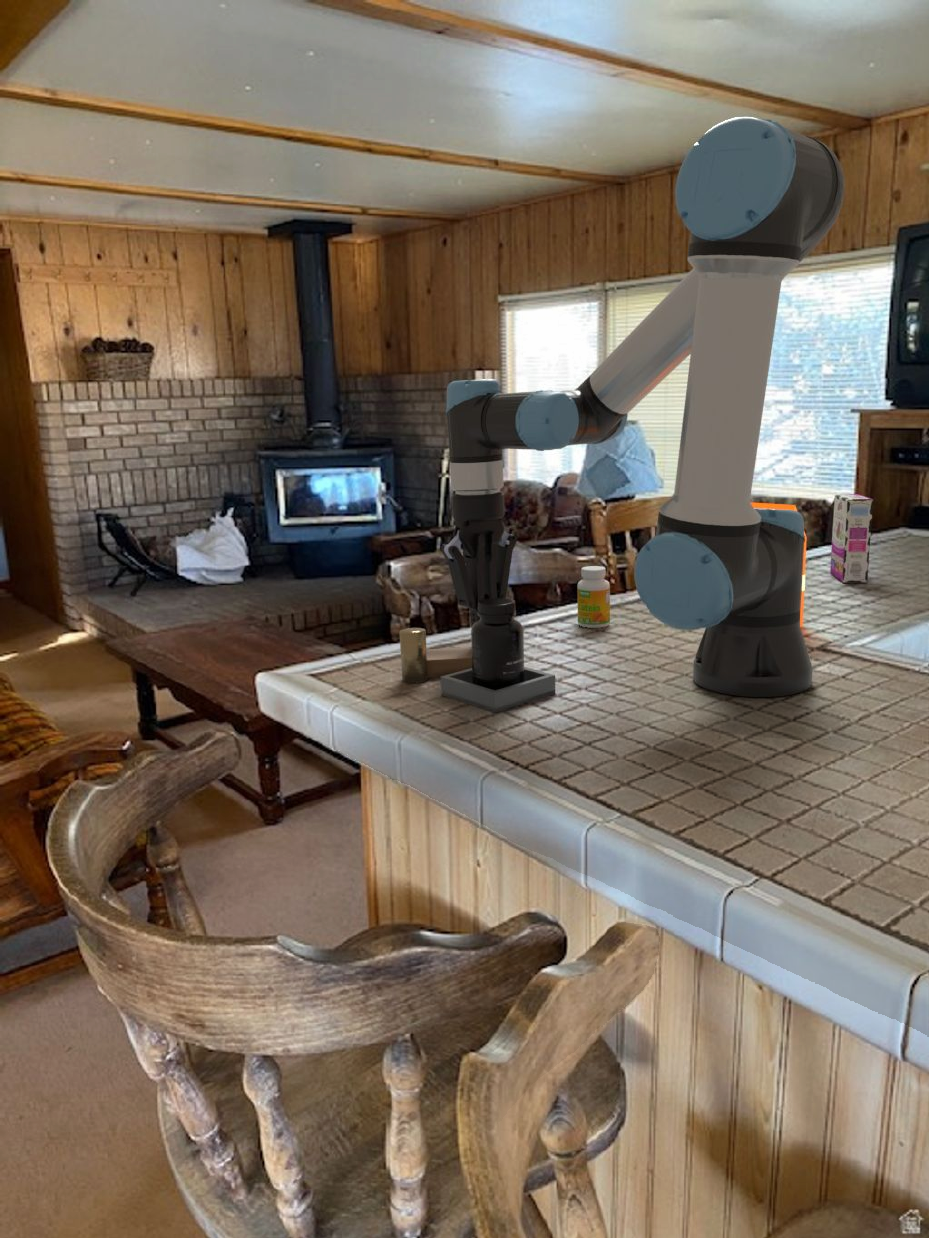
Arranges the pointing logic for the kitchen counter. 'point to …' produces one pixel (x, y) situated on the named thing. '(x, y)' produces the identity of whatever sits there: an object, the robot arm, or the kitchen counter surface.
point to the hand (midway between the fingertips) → (484, 650)
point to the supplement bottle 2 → (593, 598)
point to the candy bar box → (851, 538)
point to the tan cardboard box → (448, 661)
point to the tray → (497, 700)
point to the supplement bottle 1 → (497, 645)
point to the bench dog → (413, 655)
